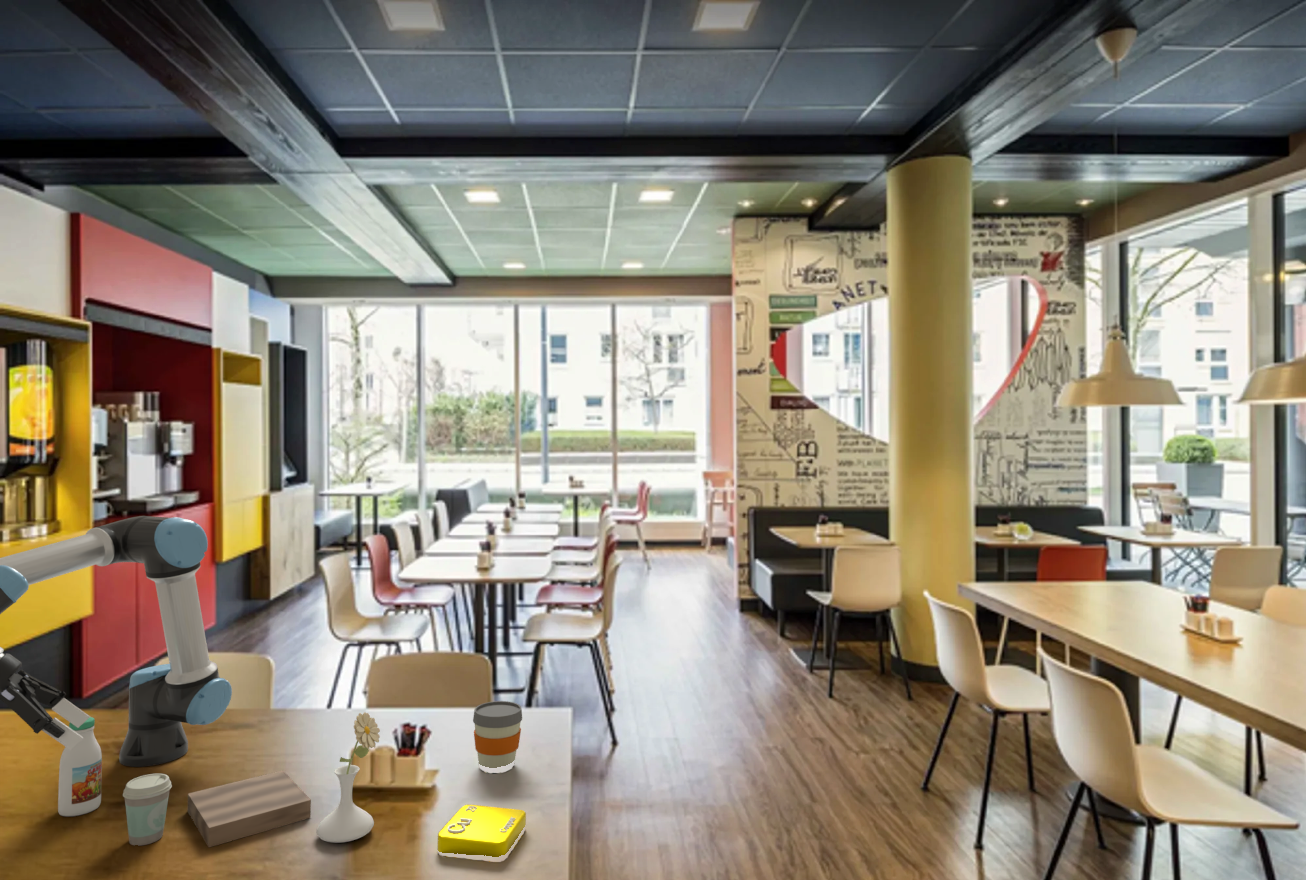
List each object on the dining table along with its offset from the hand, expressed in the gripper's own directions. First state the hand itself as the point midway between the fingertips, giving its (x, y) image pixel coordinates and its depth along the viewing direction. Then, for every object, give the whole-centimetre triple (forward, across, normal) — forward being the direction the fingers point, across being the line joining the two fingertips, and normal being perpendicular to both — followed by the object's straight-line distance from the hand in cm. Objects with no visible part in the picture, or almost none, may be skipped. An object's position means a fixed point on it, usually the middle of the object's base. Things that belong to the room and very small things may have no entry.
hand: (80, 732), depth 157 cm
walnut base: (+38, +1, +6) cm, 39 cm away
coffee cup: (+25, +2, -8) cm, 26 cm away
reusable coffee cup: (+78, +2, +46) cm, 91 cm away
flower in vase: (+51, +20, +18) cm, 58 cm away
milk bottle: (+16, -20, -17) cm, 31 cm away
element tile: (+68, +37, +35) cm, 85 cm away
